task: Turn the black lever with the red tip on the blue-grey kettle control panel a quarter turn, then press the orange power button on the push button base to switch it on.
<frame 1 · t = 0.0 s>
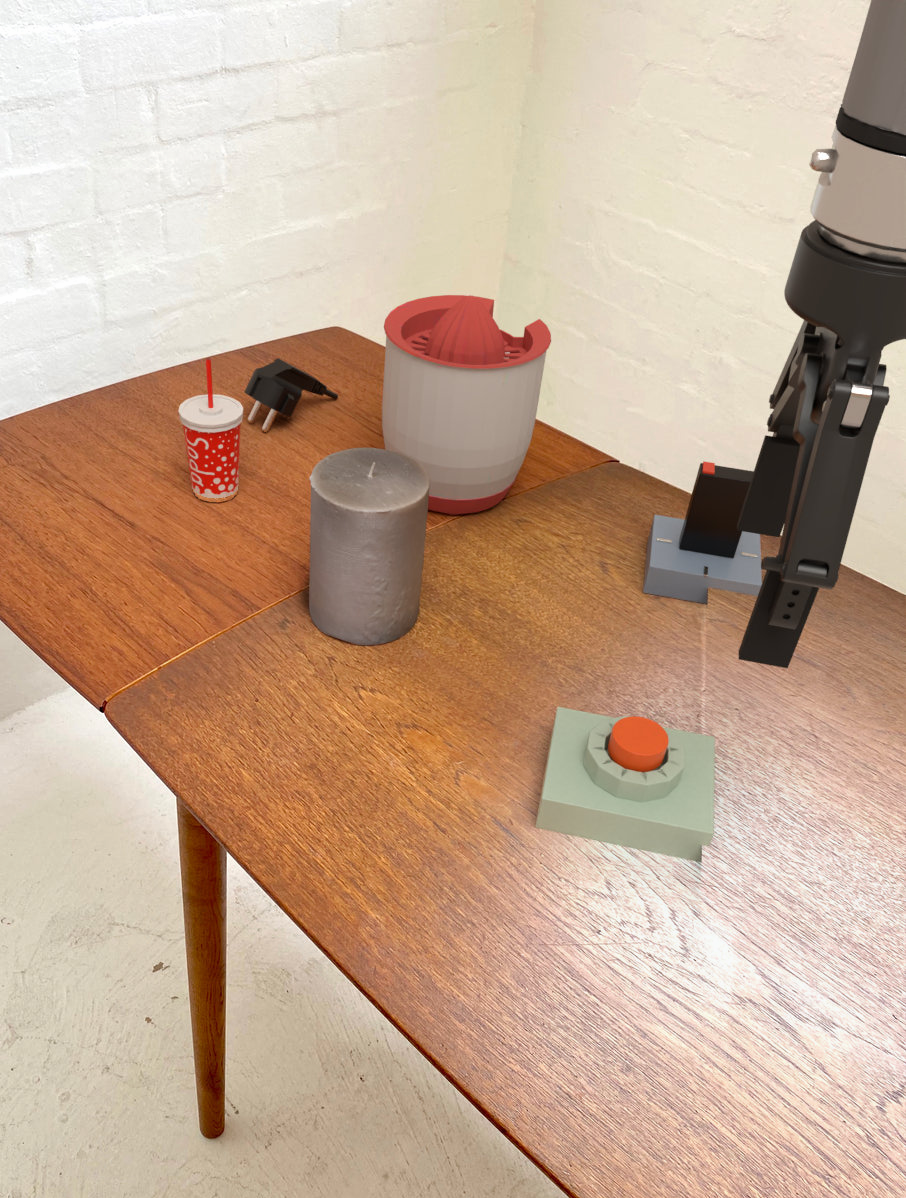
hand: (760, 591, 67), 21 cm above the table, tool pointing down, fingers open, 13 cm apart
beverage cup: (215, 492, 112), on the table
dial panel: (698, 575, 105), on the table
citrus juicer: (455, 485, 115), on the table
kettle button: (637, 744, 79), point 5 cm above the table, slide at 0.1 cm
black lever red tip: (717, 510, 100), point 7 cm above the table, hinge at 0.0°
push button base: (622, 796, 83), on the table
pillar candle: (363, 614, 98), on the table
power plug: (295, 415, 124), on the table
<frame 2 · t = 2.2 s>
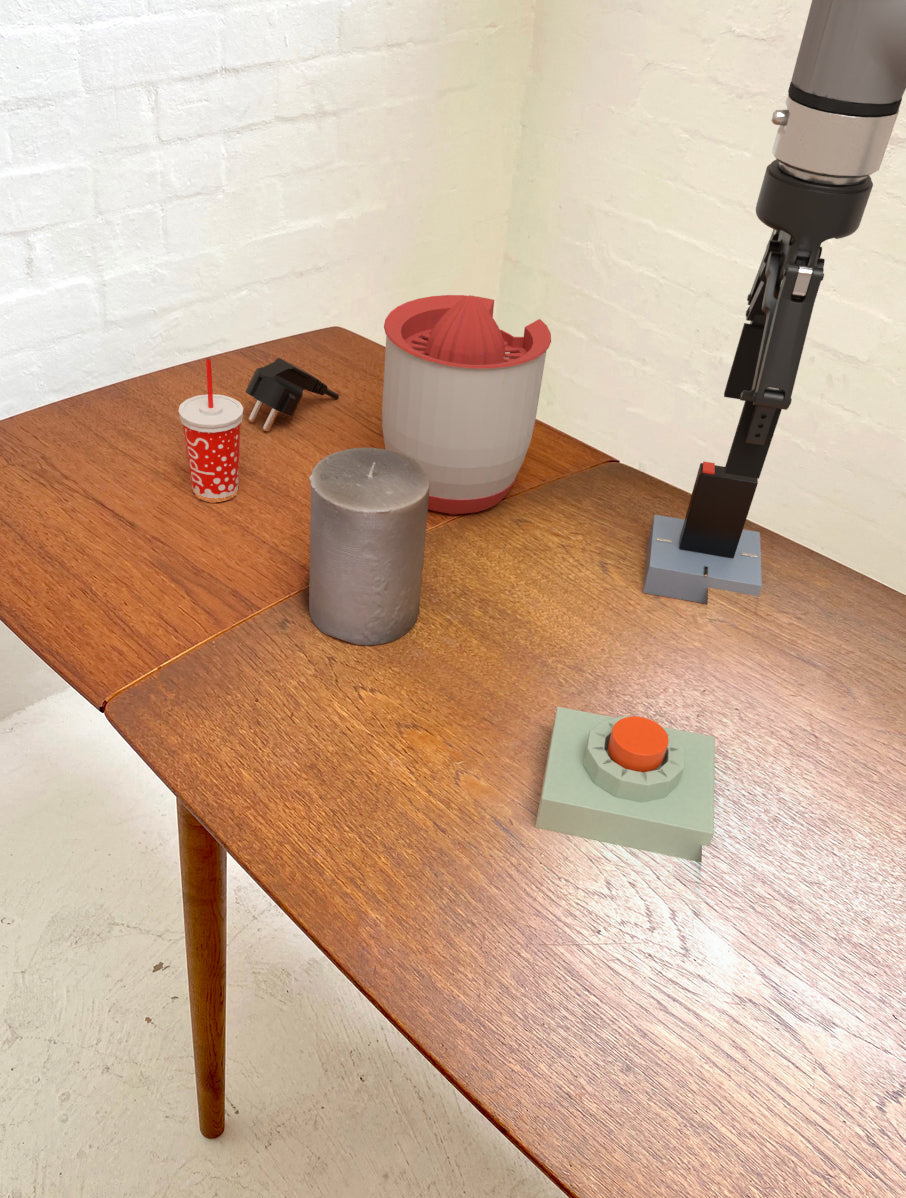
hand: (740, 434, 94), 15 cm above the table, tool pointing down, fingers open, 13 cm apart
nothing on the table moved.
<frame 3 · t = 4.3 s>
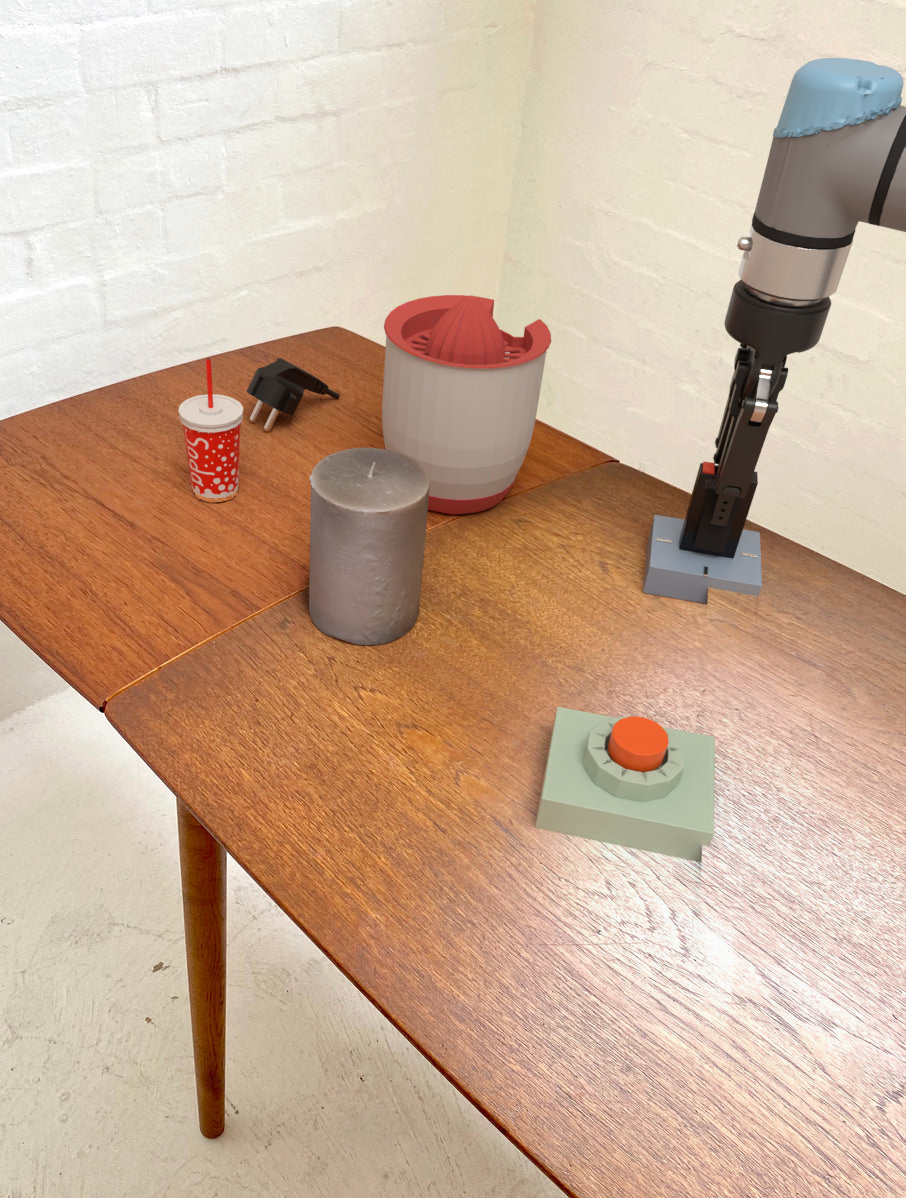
hand: (708, 539, 102), 4 cm above the table, tool pointing down, fingers closed on black lever red tip, 2 cm apart
black lever red tip: (717, 510, 100), point 7 cm above the table, hinge at 0.0°, touching gripper
everything else where it was.
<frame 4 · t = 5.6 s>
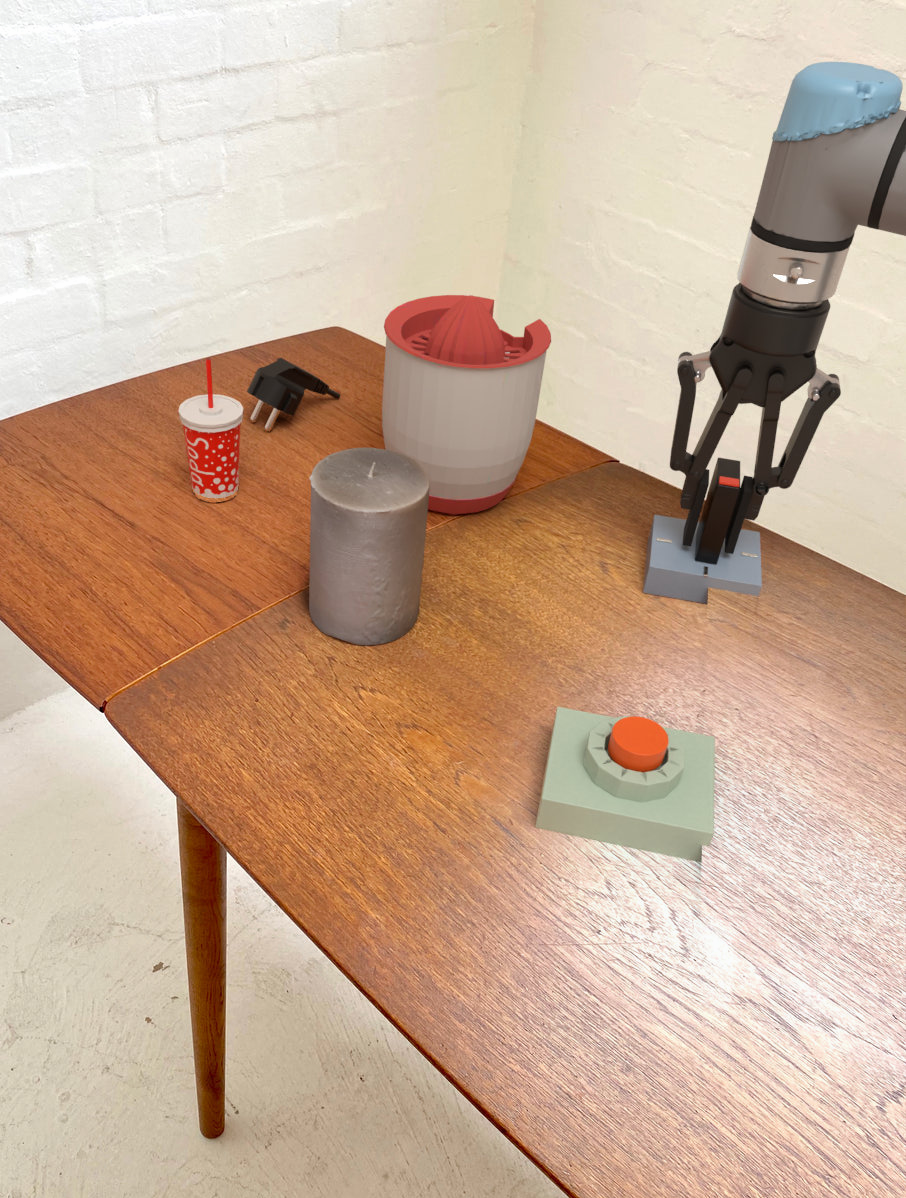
hand: (708, 541, 102), 4 cm above the table, tool pointing down, fingers open, 3 cm apart
black lever red tip: (717, 510, 100), point 7 cm above the table, hinge at 89.4°
everything else where it was.
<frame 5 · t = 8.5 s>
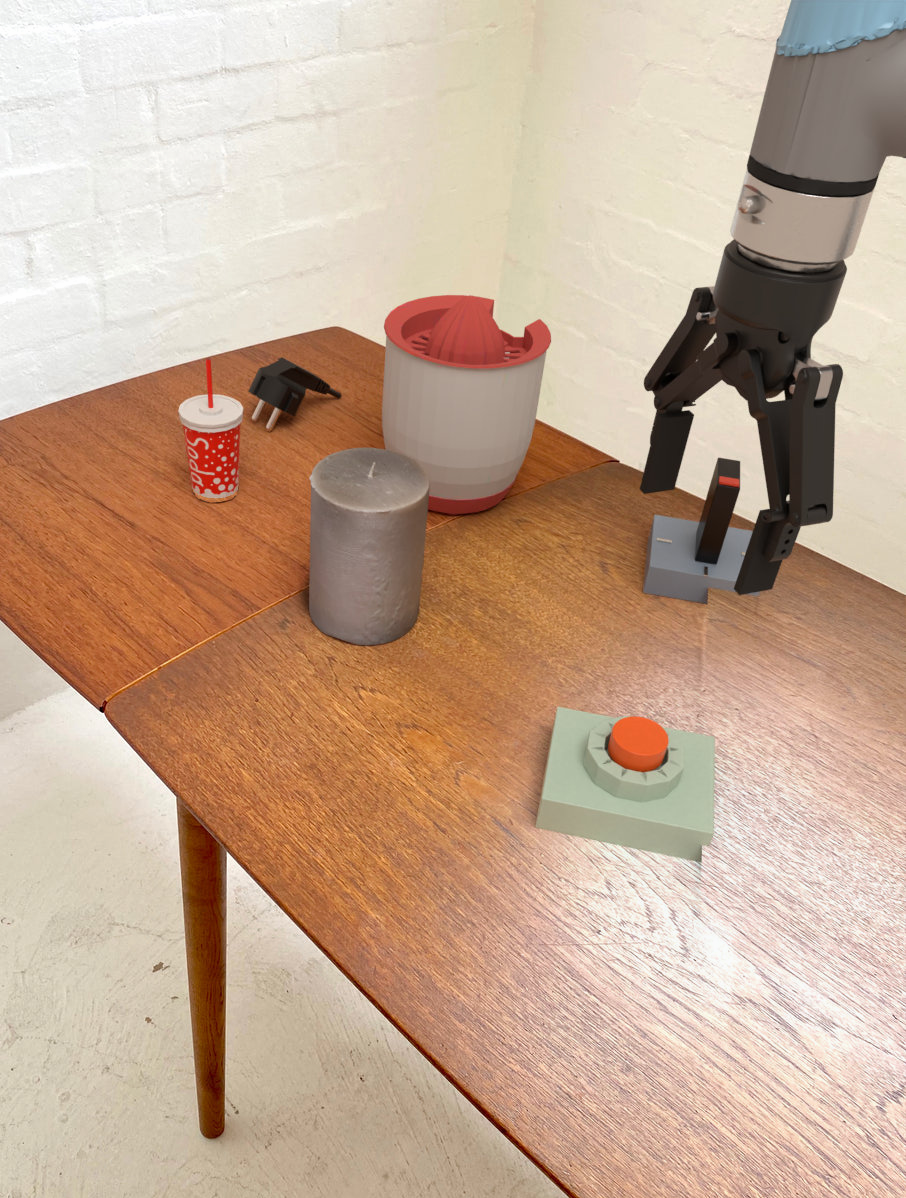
hand: (701, 537, 83), 15 cm above the table, tool pointing down, fingers open, 13 cm apart
nothing on the table moved.
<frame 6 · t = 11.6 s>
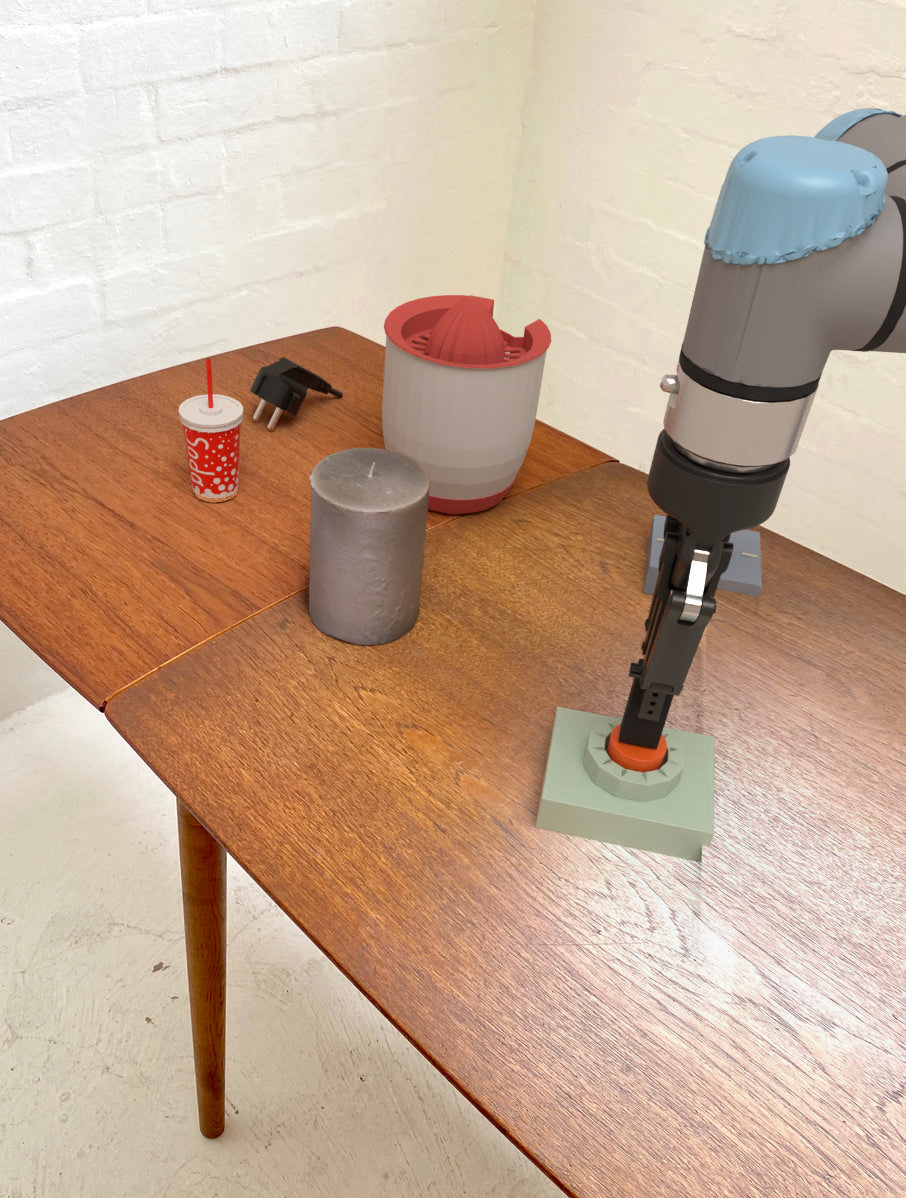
hand: (638, 738, 79), 6 cm above the table, tool pointing down, fingers closed
kettle button: (636, 749, 80), point 5 cm above the table, slide at -0.4 cm, touching gripper
everything else where it was.
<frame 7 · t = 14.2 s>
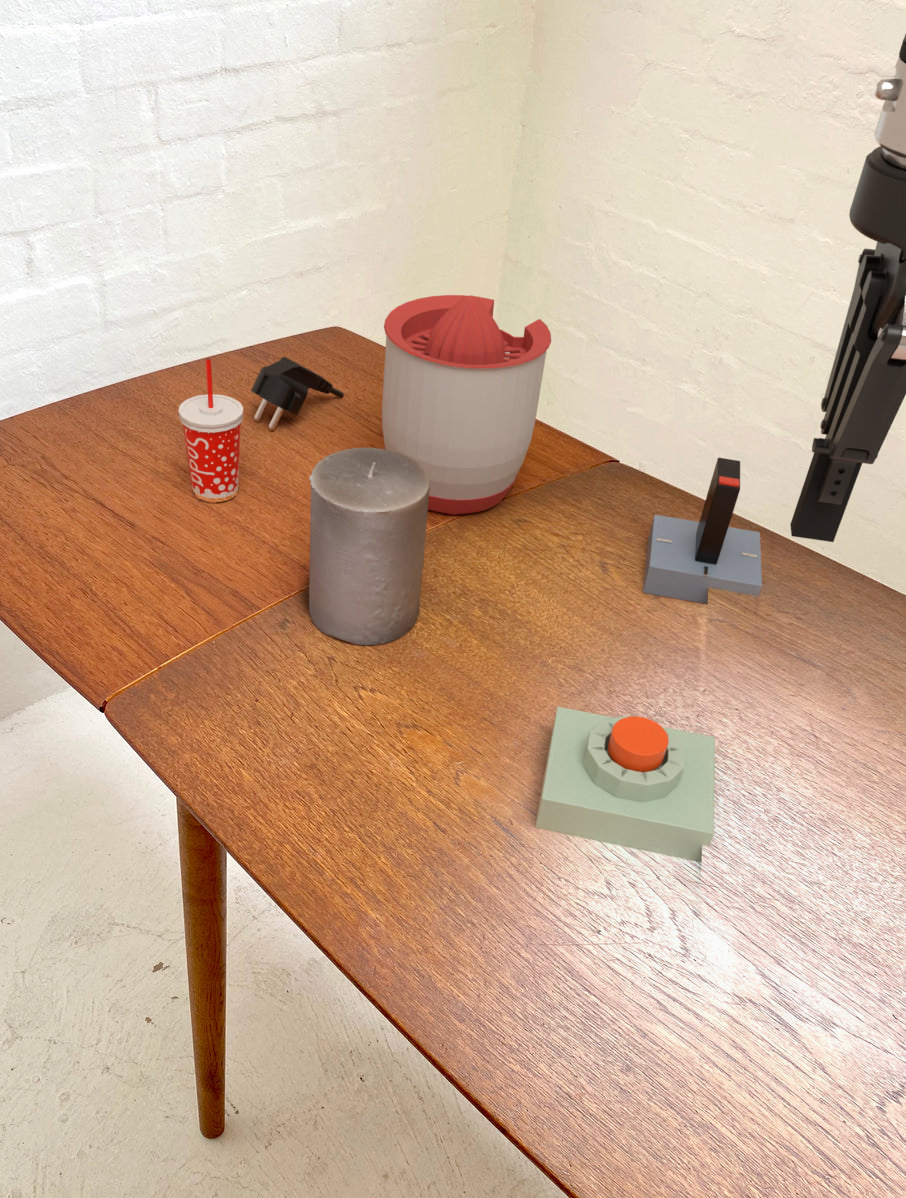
hand: (811, 532, 74), 20 cm above the table, tool pointing down, fingers closed
kettle button: (637, 744, 79), point 5 cm above the table, slide at 0.1 cm
everything else where it was.
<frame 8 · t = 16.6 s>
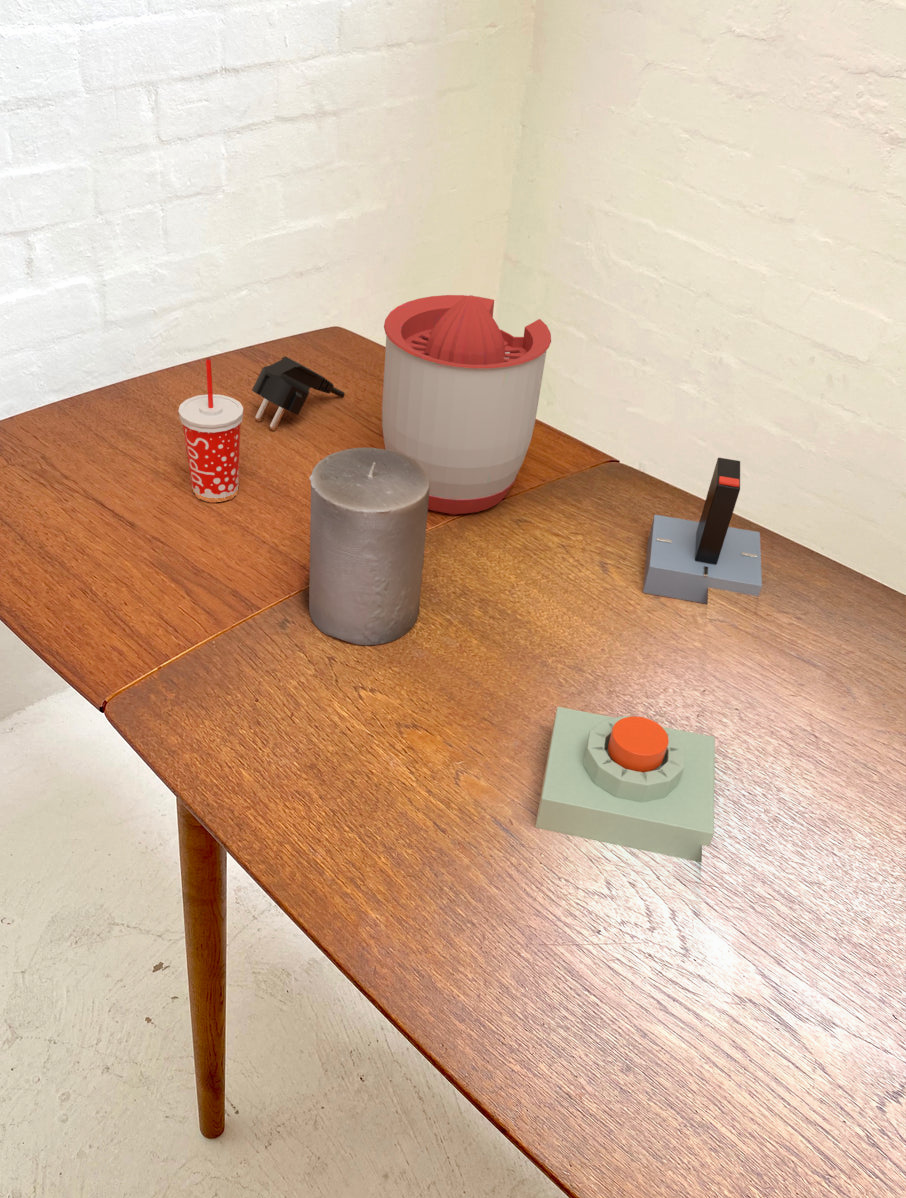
nothing on the table moved.
at the end: black lever red tip at +89° (first picture: +0°); kettle button pushed in 1.0 cm at the most during the clip, back to where it started at the end; kettle button slide at 0.1 cm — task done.
